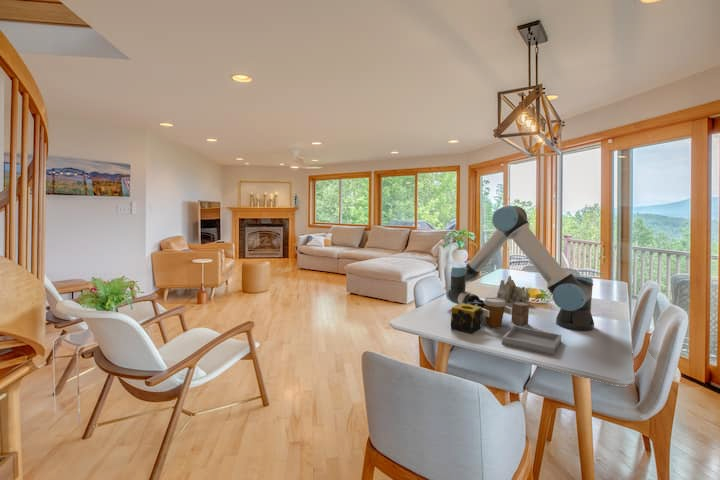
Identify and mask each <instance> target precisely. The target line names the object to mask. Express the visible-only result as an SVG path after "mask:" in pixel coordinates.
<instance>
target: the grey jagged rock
mask: <svg viewBox="0 0 720 480" xmlns="http://www.w3.org/2000/svg"><path fill="white" fill-rule="evenodd" d="M495 298H500V299H503V300H505V303H506V305H505V306H512V303H519V302H522V303H525V304H528V305H529V306H530V302H529V301H530V298H531V295H530V292H529V291H526V287H525V286H522V287H520V286H517V285H516V282H515V281H514V280H513V278H512V276H511V275H508V277H507V280H506V283H505V280H504V279H501V280H500V283H499V287H498V290H497V293H496V297H495Z"/></svg>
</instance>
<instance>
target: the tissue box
mask: <svg viewBox="0 0 720 480" xmlns="http://www.w3.org/2000/svg"><path fill="white" fill-rule="evenodd" d="M481 309H482V307H479V306H474V305H469V304H464V303H460V304H456V305H454V306H452V307H451V319H450V330H453V331H457V332H461V333H465V334H470V335H473V334H475V333H476V332H477V331H479V330H481V329H482V315H481Z"/></svg>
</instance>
